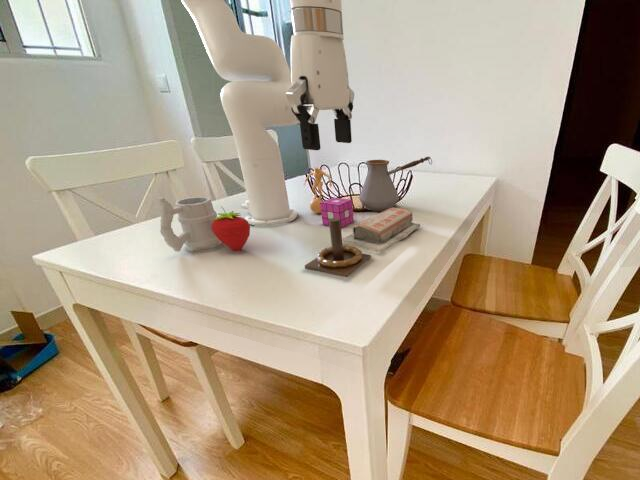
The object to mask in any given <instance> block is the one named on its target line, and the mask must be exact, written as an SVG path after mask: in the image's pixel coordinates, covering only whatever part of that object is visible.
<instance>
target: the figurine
mask: <svg viewBox="0 0 640 480" xmlns="http://www.w3.org/2000/svg"><path fill="white" fill-rule="evenodd" d="M311 176H314V179H315V180H313V183H312V188H311V190H312V191H313V193H314V197H313V200H311V201H310V204H309V208H310V210H311V212H312V213H314V214H321V206H320V203H321V202H323V201H324V200H322V193H323V192H322V189H323V185H324V183H323V181H322V178H323V176H325V177H327V179H328V182H329V185H328V186H329V187H330V188H332V186H333V184H332V180H331V176H330V175H329V174H327V173H326V172H325V171H323V169H321V168H318V166H317V167H316V166H315V167H314V171H312V172H310V173H309V174H308V175H307V177H306V178H305V180H304V182H303V186H305V185H306V182H307V181H308V180H309V178H310V177H311ZM316 189H317V190H318V192H317V190H316ZM318 194H319V195H318ZM317 195H318V197H317Z"/></svg>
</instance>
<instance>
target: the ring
mask: <svg viewBox="0 0 640 480" xmlns="http://www.w3.org/2000/svg"><path fill="white" fill-rule="evenodd" d="M344 251H346V252H351V253H354V254H355V255H356V256H354V257H353V258H351V259H347V260H344V261H331V260H326V259H325V258H324V256H326V255H328V254H330V253H332V246H329V247H325V248H324V249H322V250H320V251H319V252H318V253H317V256H316V258H317V261H318V262H319V263H320V264H322V265H323V266H327V267H332V268H337V267H347V266H350V265H353V264H356V263H357V262H358V261H360V260H361V259H362V253H363V252H362V250H361V249H359V248H358V247H356V246H351V245H347V244H344V245H343V252H344Z"/></svg>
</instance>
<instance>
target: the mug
mask: <svg viewBox="0 0 640 480" xmlns="http://www.w3.org/2000/svg"><path fill="white" fill-rule="evenodd" d="M157 199H158V201H159V207H160V210H159V211H160V229H159V232H160V235H161V236H162V237H163V240H164V242H165V243H166V245H167V246H168V247H170V248H172V250H173V251H174V252H175V253H177V252H181V250H182V248H183V246H184V245H185V246H186V248H187V250H188V251H190V252H193V251H200V250H206V249H207V250H208V249H212V248H215V247H216V248H217V247H218V246H220V245H222V244H223V243H222V242H221V241H220V240H219V239H217V237H216V236H215V234H214V233H213V231H212V223H213V221H214V220H212V219H214V218H217V217H218V213H217V211H216V210H215V208H214V206H213V203H212V199H211V198H210V197H205V196H192V197H186V198H183V199H178V200H176V201H175V203H174V204H175V206H174V207H173V205H172V204H171V202H169V201H168V200H166V198H164V197H161V196H159V197H157ZM176 214H177V221H178V222H179V224H180V226H181V230H182V232H181V233H180V234H179V235H177V234H175V231H174V230H173V227H172V222H173V219H174V216H175V215H176Z"/></svg>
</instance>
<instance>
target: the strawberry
mask: <svg viewBox="0 0 640 480" xmlns="http://www.w3.org/2000/svg"><path fill="white" fill-rule="evenodd" d="M220 207H221V208H222V210H223V211H224V213H223V212H221V213H220V212H219V213H217V215H218V216H217V217H216V218H214V219H212V220H214V221H213V223H212V231H213V233H214V234H215V236H216V237H217V239H219V240H220V241H221V242H222V244H223V245H224V246H226V247H227V248H229V249H230V250H232V251H233V252H239V251H240V252H241V251H242V250H243V248H244V246H245V245H246V243H247V241H248V239H249V237H250V235H251V224H249V223H248V221H247V220H246V218H244V217H241V212H234V210H233V211H229V212H226V210H225V208H224V207H223V206H222V205H221V206H220Z"/></svg>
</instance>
